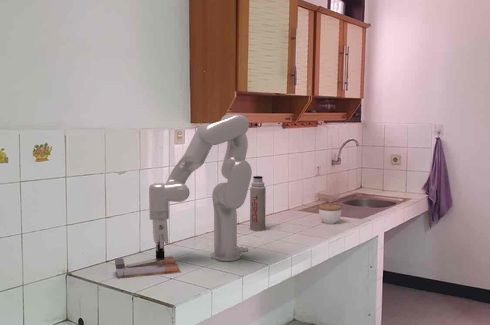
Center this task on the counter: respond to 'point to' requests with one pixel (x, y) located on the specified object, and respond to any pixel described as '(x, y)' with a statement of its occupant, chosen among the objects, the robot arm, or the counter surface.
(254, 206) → the thermos bottle
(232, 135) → the robot arm
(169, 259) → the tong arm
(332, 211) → the lidded bowl
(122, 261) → the tab
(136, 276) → the walnut board
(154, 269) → the tongs fixed
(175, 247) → the counter surface
